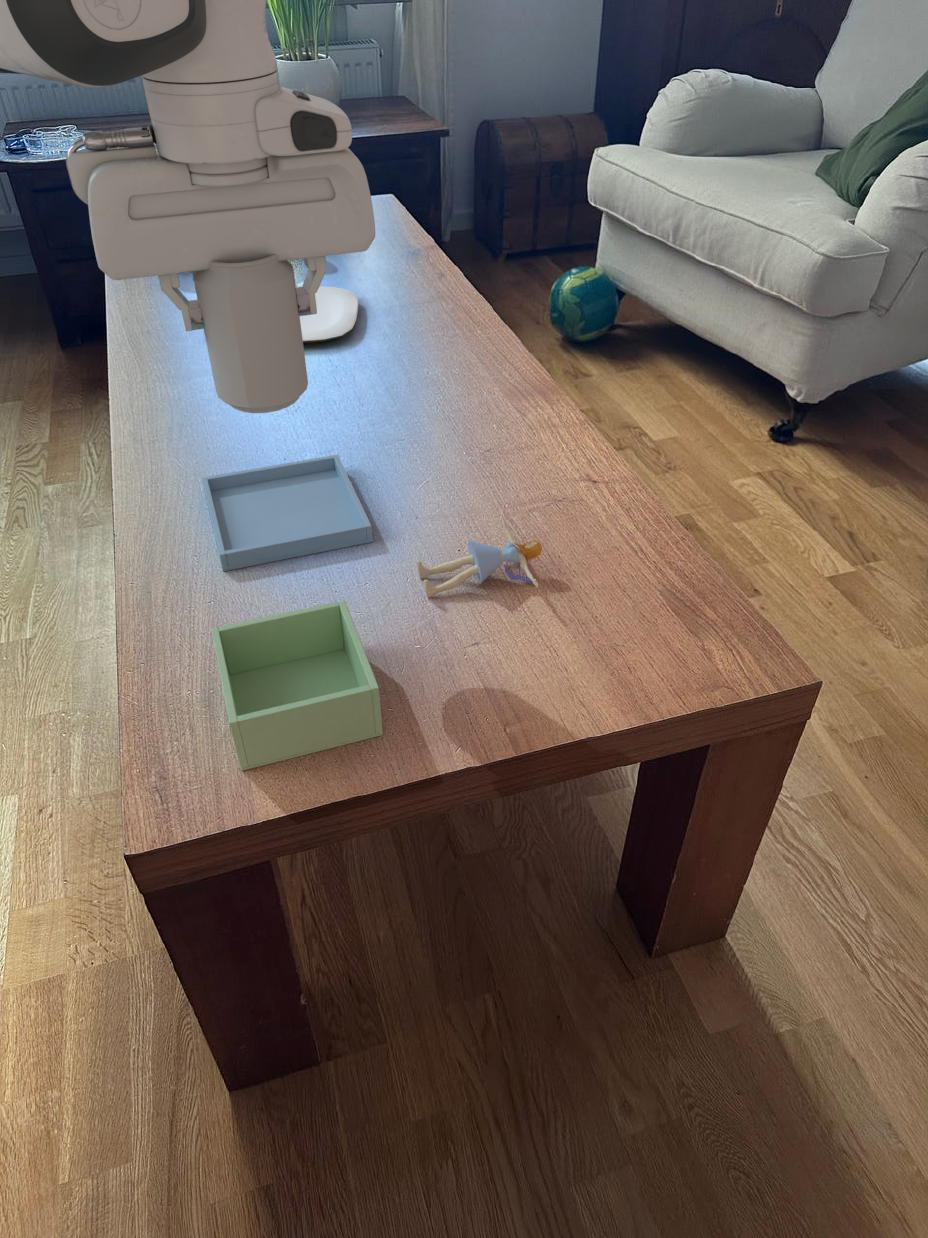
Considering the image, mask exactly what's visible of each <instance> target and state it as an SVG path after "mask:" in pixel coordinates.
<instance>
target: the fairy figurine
mask: <svg viewBox="0 0 928 1238" xmlns="http://www.w3.org/2000/svg"><path fill="white" fill-rule="evenodd" d="M501 523H502V526H503V529H504V532H505V535H506V537H507V541H508V542H507V543H506V544H505V547H500V548H499V547H496V546H492V545H490V544H489V545H488V544H484V543H481V542H477V541H473V540H468V543H467V544H468V545H467V546H468V552H469V555H466V556H461V557H460V558H458V559H454V560H448V561H445V562H442V563H440V564H438V565H436V566H433V567H425V566H424V565H423V563H422V561H421V560H419V559H418V560H416V565H417V566H416V568H417V572H418V577H419V579H420V580H421V579H424V578H428V577H429V576H434V575H437V574H438V575H439V574H445V573H452V572H455V571H457V570H459V569H461V568H462V567H464V566H466V565H471V567H469V568H467V569H465V570H463V571H462V572H460V573H458V574H456V575H455V576H453V577H452V578H450V579H449V580H447V581H444V583H442V584H440V585H437V586H433V585H431V583H430V581H429V579H424V580H423V586H424V589H425V590H424V591H425V595H426V598H430V597H433V596H435V595H438V594H440V593H443V592H446V591H451V590H453V589H455V588H457V587H459V586H460V584H462V583H463V582H465V581H467V579H468V578H470V577H473V576H475V577H476V580H477V582H478V583H479V584H482V583H483V582H484V581H485V580H486V579H487V578H489V576H491V575H492V573H494V572H495V571H496V570H497V569H498V568H499V567H500V566H501V565H502V564H503V563H504V562H506V563H505V567H504V569H505V572H506V575H507V577H508V578H510V579H511V580H515V581H516V580H520V581H523V582H527V583H529V584H531V585H533V586H535V587H536V588H538V587H539V582H538V581H537V579H536V578H535V577H534V575H533V573H532V572H531V568H530V567H529V565H528V561H529V562H531V560H533V559H537V558H538V557H539V556H540V555H542V551H543V547H542V543H541V542H540V541H538V540H537V539H534V540H531V541H528V542H525V543H523V544H521V543H520V542H518V543H516V542H515V541H514V538H513V537H512V534H511V533H510V531H509V530H508V527H507V524H506V521H505V518H504V517H503V516H501ZM509 562H510V563H513V565H516V564H517V567H516V568H515V566H513V567H512V570H511V571H510V567H509ZM521 568H522V571H523V574H522V575H521ZM514 569H515V570H518V574H516V575H515V573H513V574H512V572H514ZM524 573H525V575H526V576H525V575H524Z"/></svg>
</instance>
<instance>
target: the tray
mask: <svg viewBox="0 0 928 1238" xmlns="http://www.w3.org/2000/svg"><path fill="white" fill-rule="evenodd" d="M201 482H202V486H203V491H204V495H205V499H206V504H207V509H208V512H209V517H210V521H211V526H212V529H213V535H214V538H215V542H216V547H217V552H218V557H219V560H220V564H221V568H222V572H227V571H231V570H232V571H233V570H236V569H237V570H238V569H242V568H247V567H252V566H258V565H262V564H267V563H274V562H278V561H283V560H288V559H293V558H299V557H304V556H307V555H313V554H318V553H323V552H328V551H329V552H330V551H334V550H338V549H344V548H349V547H353V546H359V545H365V544H369V543H374V538H373V537H374V536H373V527H372V524H371V521H370V519H369V518H368V515H367V513H366V510H365V509H364V507H363V504H362V503H361V501H360V499H359V496H358V494H357V492H356V490H355V488H354V486H353V483H352V481H351V479H350V477H349V476H348V473H347V471H346V469H345V467H344V465H343V463H342V460H341V459H340V456H339V455H338V454H334V455H327V456H321V457H315V458H310V459H303V460H298V461H293V462H286V463H280V464H273V465H268V466H262V467H257V468H251V469H245V470H239V471H233V472H227V473H222V474H215V475H210V476H204V477H201Z"/></svg>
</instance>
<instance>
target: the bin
mask: <svg viewBox="0 0 928 1238" xmlns="http://www.w3.org/2000/svg"><path fill="white" fill-rule="evenodd" d="M348 607H349V606H348V605H347V602H346V600H344V599H343V600H339V601H334V602H329V603H325V604H320V605H315V606H310V607H306V608H302V609H297V610H291V611H286V612H282V613H278V614H273V615H268V616H263V617H259V618H254V619H250V620H245V621H240V622H236V623H231V624H225V625H222V626H221V625H220V626H216V627H212V628H210V630H211V636H212V641H213V646H214V651H215V658H216V662H217V666H218V672H219V677H220V682H221V687H222V692H223V697H224V702H225V708H226V713H227V718H228V723H229V727H230V731H231V735H232V739H233V743H234V747H235V750H236V755H237V759H238V763H239V767H240V770H241V772H243V771H247V770H251V769H255V768H259V767H262V766H263V767H264V766H267V765H271V764H274V763H279V762H282V761H283V762H284V761H286V760H290V759H295V758H298V757H299V758H300V757H302V756H306V755H310V754H313V753H318V752H322V751H326V750H329V749H335V748H337V747H342V746H346V745H349V744H353V743H357V742H361V741H365V740H369V739H373V738H377V737H381V736H383V735H384V730H383V719H382V708H381V707H382V706H381V695H380V687H379V684H378V681H377V679H376V677H375V674H374V671H373V669H372V667H371V663H370V661H369V659H368V656H367V653H366V651H365V648H364V646H363V643H362V641H361V638H360V636H359V633H358V630H357V628H356V626H355V623H354V620H353V617H352V615H351V612H350V610H349V608H348Z"/></svg>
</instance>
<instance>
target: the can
mask: <svg viewBox="0 0 928 1238" xmlns="http://www.w3.org/2000/svg"><path fill="white" fill-rule="evenodd" d="M277 257H278V255H277V254H273V255H271V256H268V257H266V258H264V259H260V260H255V261H250V262H242V263H223V262H215V261H210V262H209V263H208V264H209V265H210V266H211V268H210V269H209V270H200V271H193V273H192V280H193V284H194V290H195V294H196V300H198V303H199V306H200V308H201V311H202V316H203V317H202V320H203V322H204V326H205V327H204V329H203V334H204V338H205V343H206V348H207V353H208V358H209V364H210V369H211V373H212V379H213V383H214V384H213V385H214V389H215V392H216V395H217V398H218V399H219V400H221V401H222V402H223V403H225V404H227V405H229V406H230V407H231V408H232V409H234V410H236V411H239V412H243V413H249V414H268V413H274V412H278V411H281V410H285V409H287V408H289V407H290V406H292V405H294V404H295V403H296V402H297V401H298V400H300V397H301V396H302V395H303V394H304V393H305V392H306V391H307V389H308V386H309V379H308V378H309V377H308V372H307V371H308V370H307V362H306V357H305V356H306V354H305V347H304V343H303V339H302V331H301V323H300V316H299V312H298V304H297V297H296V295H297V292H296V278H295V277H296V276H295V269H294V266H293V264H292V263H291V262H290V260H286V261H277V259H276V258H277Z"/></svg>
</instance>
